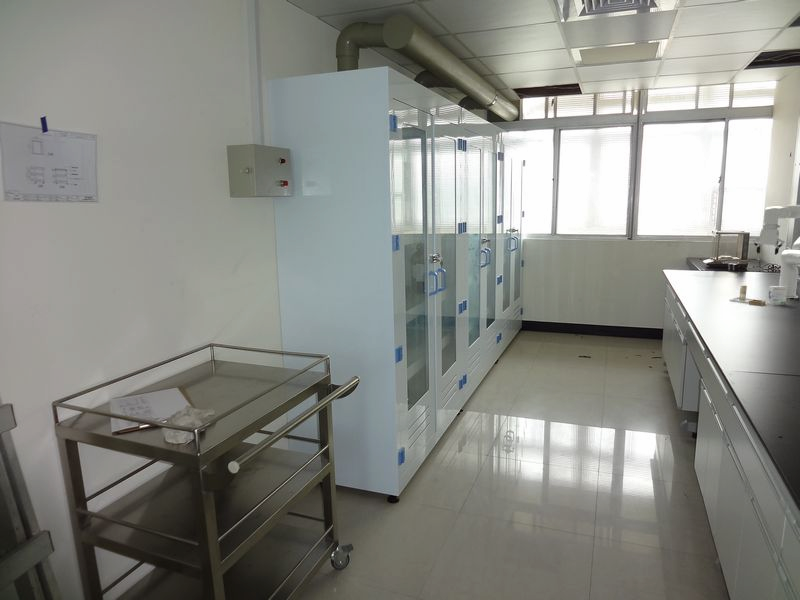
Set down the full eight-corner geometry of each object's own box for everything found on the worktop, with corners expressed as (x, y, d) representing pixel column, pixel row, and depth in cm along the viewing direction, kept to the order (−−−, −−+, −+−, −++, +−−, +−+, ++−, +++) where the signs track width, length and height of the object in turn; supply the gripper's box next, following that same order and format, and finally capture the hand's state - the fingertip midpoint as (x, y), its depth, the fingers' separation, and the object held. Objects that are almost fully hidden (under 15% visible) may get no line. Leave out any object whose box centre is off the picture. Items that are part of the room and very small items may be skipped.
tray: (735, 299, 357) (736, 297, 357) (754, 301, 349) (755, 299, 349) (729, 301, 350) (729, 299, 349) (748, 304, 341) (748, 301, 341)
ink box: (771, 305, 336) (773, 287, 334) (766, 304, 341) (768, 285, 339) (786, 305, 335) (788, 287, 333) (781, 304, 340) (783, 285, 338)
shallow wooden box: (752, 303, 343) (752, 299, 342) (765, 305, 338) (765, 300, 337) (748, 305, 338) (749, 300, 338) (761, 306, 333) (762, 302, 333)
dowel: (740, 300, 352) (741, 284, 350) (746, 300, 349) (747, 285, 347) (738, 300, 349) (739, 285, 348) (744, 301, 347) (745, 286, 345)
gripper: (787, 227, 341) (784, 254, 344) (756, 226, 354) (753, 252, 357) (784, 227, 336) (781, 255, 339) (752, 227, 349) (749, 253, 352)
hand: (767, 253), depth 348 cm, fingers open, 9 cm apart
